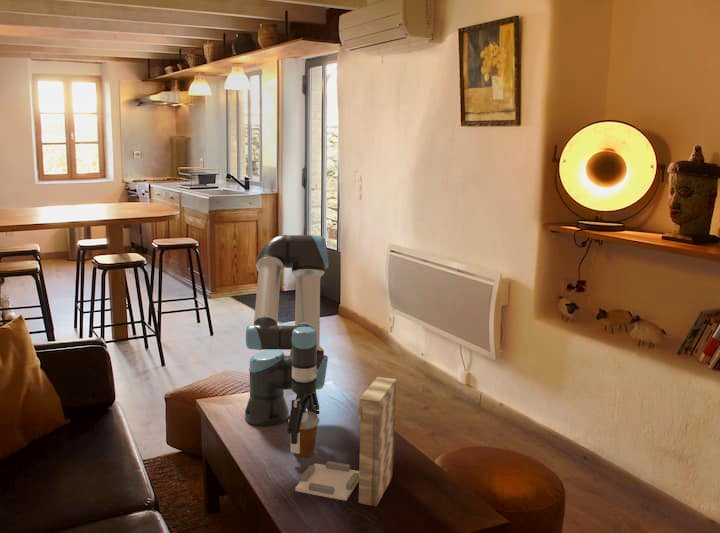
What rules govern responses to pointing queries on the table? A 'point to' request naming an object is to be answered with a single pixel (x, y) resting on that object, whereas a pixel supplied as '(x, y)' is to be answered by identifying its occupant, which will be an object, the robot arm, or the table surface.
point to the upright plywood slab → (376, 439)
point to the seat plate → (329, 480)
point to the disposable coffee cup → (308, 433)
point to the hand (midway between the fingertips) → (303, 443)
